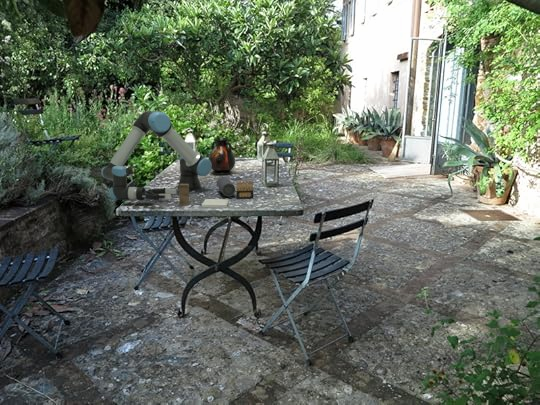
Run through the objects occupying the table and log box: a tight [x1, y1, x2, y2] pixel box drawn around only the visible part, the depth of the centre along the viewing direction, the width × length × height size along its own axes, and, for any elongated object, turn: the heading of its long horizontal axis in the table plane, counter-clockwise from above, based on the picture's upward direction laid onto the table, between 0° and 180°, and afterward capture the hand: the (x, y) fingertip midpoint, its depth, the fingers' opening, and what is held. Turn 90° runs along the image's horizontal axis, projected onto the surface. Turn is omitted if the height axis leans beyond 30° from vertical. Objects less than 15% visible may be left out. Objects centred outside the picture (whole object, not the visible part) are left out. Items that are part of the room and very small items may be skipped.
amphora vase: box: [207, 137, 236, 176], centre depth 359 cm, size 22×22×28 cm
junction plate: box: [201, 198, 230, 209], centre depth 266 cm, size 14×14×2 cm
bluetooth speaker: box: [216, 176, 236, 197], centre depth 291 cm, size 23×9×10 cm, turn 15°
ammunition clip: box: [235, 179, 255, 200], centre depth 280 cm, size 11×2×12 cm, turn 100°
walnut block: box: [178, 184, 190, 207], centre depth 264 cm, size 4×5×12 cm
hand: (173, 194), depth 264 cm, fingers open, 13 cm apart
